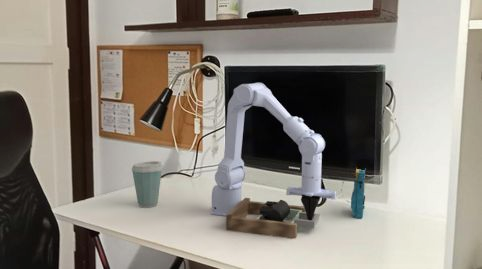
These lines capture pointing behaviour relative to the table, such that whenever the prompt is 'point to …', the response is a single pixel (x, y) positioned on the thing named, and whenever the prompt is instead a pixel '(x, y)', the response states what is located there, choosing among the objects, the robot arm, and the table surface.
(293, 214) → the pull tray
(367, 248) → the table surface
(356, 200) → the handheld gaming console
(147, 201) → the disposable coffee cup
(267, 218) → the end cap
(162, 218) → the table surface
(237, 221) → the brown wooden frame
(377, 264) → the table surface
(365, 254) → the table surface
